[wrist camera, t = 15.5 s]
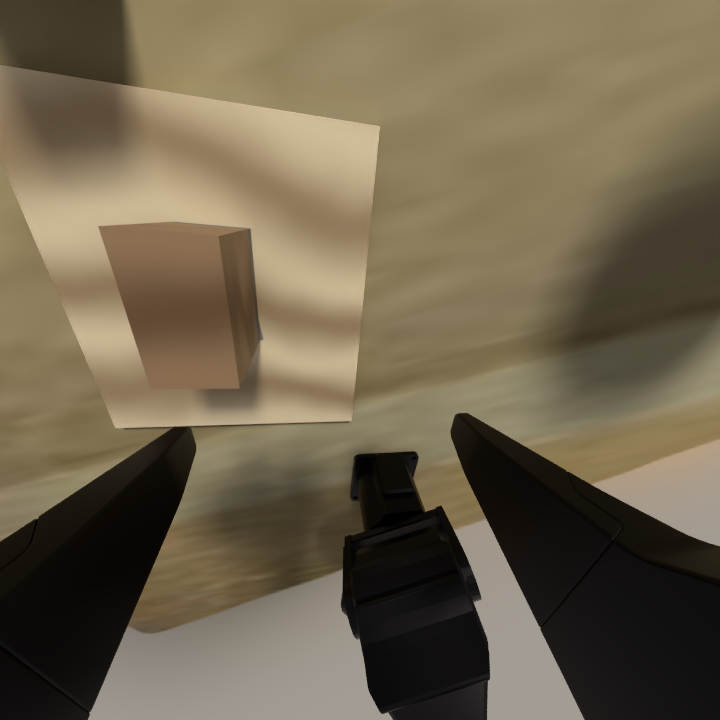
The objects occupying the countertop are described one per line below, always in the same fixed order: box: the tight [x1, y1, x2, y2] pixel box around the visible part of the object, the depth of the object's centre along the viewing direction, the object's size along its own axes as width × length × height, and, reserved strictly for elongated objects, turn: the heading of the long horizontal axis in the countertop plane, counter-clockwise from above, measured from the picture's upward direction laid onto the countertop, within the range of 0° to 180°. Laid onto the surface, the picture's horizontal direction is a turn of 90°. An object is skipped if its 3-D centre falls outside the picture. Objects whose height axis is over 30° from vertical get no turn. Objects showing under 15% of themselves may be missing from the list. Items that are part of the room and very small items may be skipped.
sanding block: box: [98, 222, 260, 389], centre depth 14 cm, size 7×4×6 cm, turn 175°
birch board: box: [0, 65, 380, 428], centre depth 18 cm, size 20×18×1 cm
